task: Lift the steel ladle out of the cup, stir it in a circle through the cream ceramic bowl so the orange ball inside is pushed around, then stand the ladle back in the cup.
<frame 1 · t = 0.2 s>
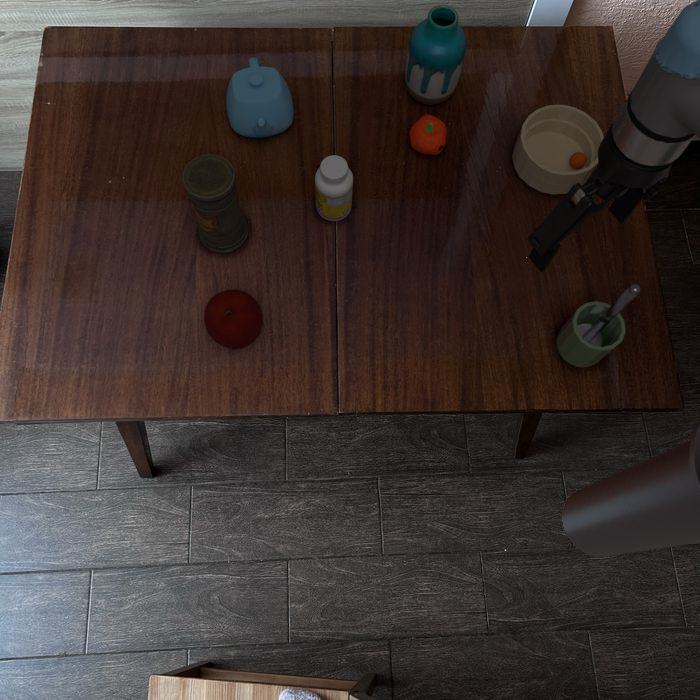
hand: (577, 239, 92), 31 cm above the table, tool pointing down, fingers open, 13 cm apart
apple: (238, 332, 120), on the table
vase: (428, 93, 138), on the table
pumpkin: (426, 144, 134), on the table
ball: (578, 160, 131), point 2 cm above the table, touching bowl
container: (224, 232, 126), on the table
supplement bottle: (333, 207, 129), on the table
bowl: (551, 161, 133), on the table
teapot: (262, 122, 134), on the table
cup: (580, 344, 120), on the table
ladle: (626, 297, 102), point 20 cm above the table, touching cup
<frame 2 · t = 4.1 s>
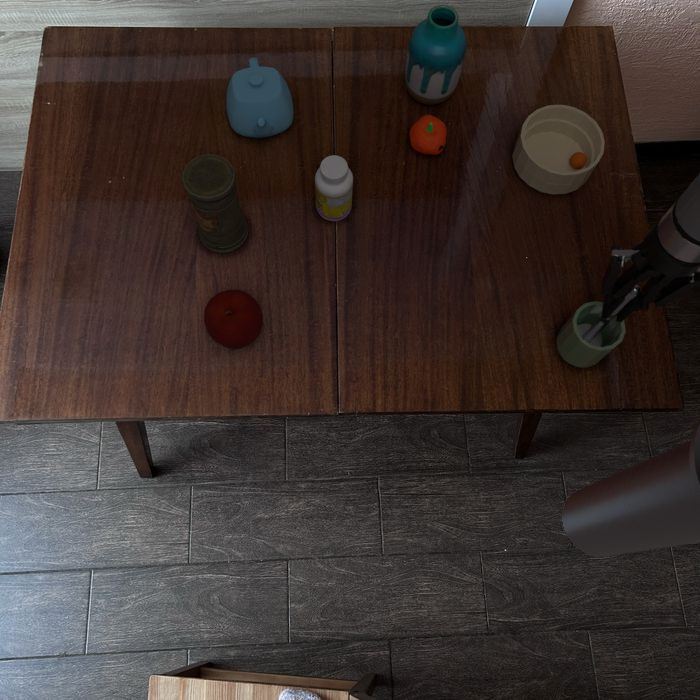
hand: (612, 312, 107), 14 cm above the table, tool pointing down, fingers closed on ladle, 2 cm apart
ladle: (626, 297, 102), point 20 cm above the table, touching cup, gripper
everything else where it was.
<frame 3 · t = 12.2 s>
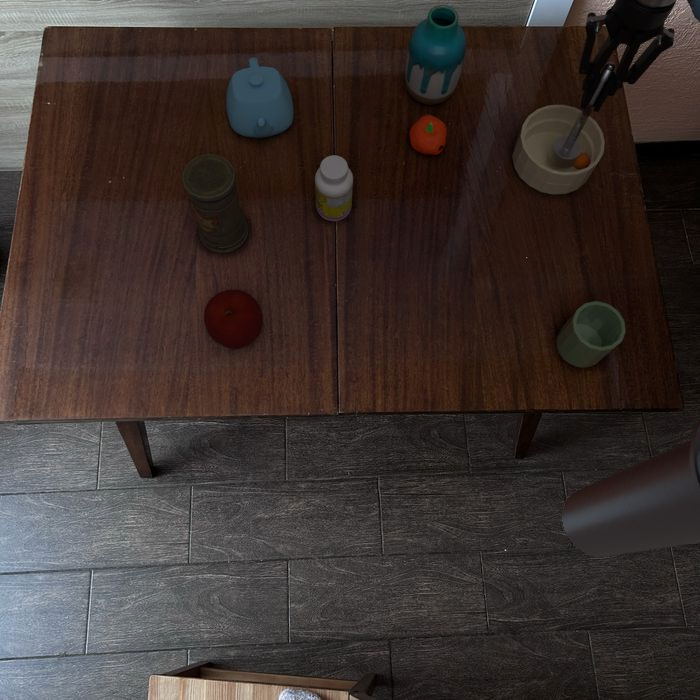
hand: (590, 103, 117), 17 cm above the table, tool pointing down, fingers closed on ladle, 2 cm apart
ball: (580, 160, 131), point 2 cm above the table, tilted 17°, touching bowl, ladle
ladle: (602, 79, 112), point 22 cm above the table, touching ball, gripper
everything else where it was.
when the fingers open (16 cm above the table, at t = 21.6 s): ladle drops 7 cm, resting on cup.
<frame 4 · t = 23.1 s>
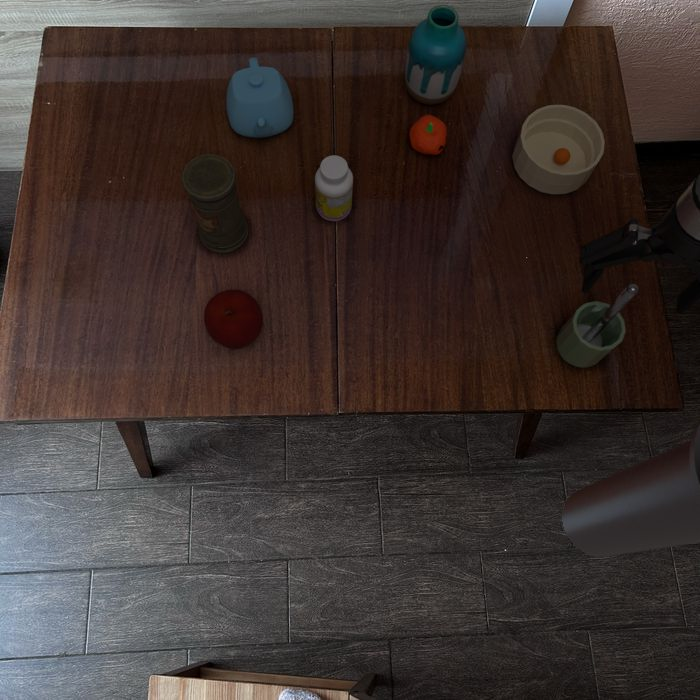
hand: (632, 294, 100), 21 cm above the table, tool pointing down, fingers open, 13 cm apart
ball: (562, 156, 131), point 2 cm above the table, tilted 118°, touching bowl
ladle: (624, 297, 102), point 20 cm above the table, touching cup
everything else where it was.
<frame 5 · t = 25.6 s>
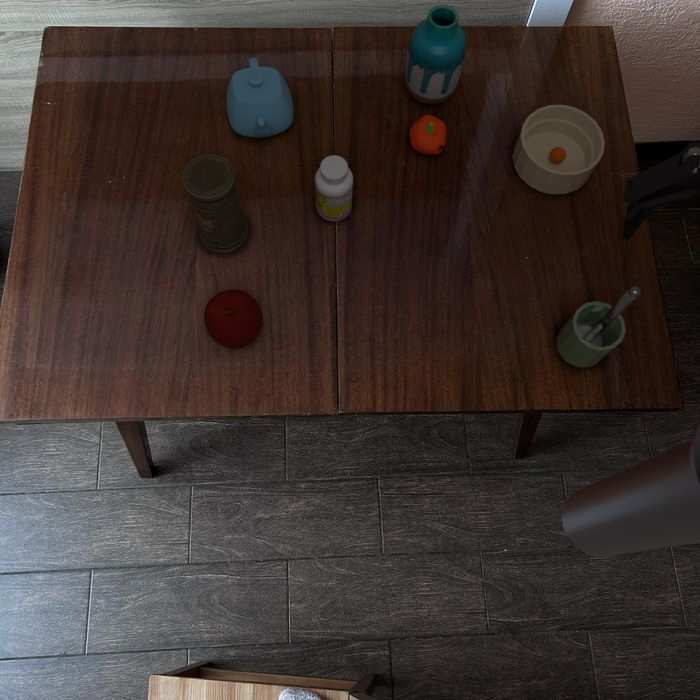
hand: (680, 242, 86), 37 cm above the table, tool pointing down, fingers open, 13 cm apart
ball: (557, 155, 131), point 2 cm above the table, tilted 150°, touching bowl
everything else where it was.
at the end: ball moved 4.0 cm from its start; ball inside the target area in the bowl (0.5 cm from its centre), point 2.1 cm above the bowl's base; ladle 0.4 cm off-centre on the cup, point 20.0 cm above the cup's base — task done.
